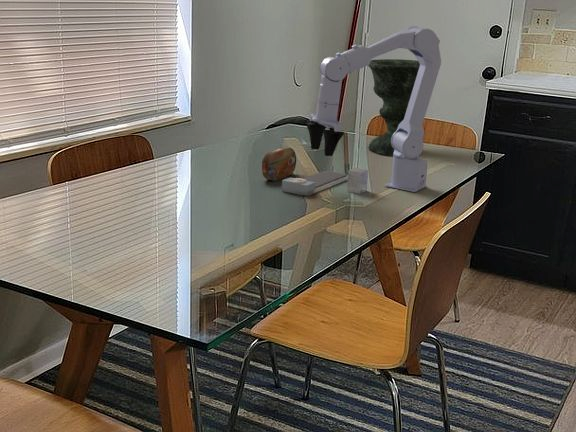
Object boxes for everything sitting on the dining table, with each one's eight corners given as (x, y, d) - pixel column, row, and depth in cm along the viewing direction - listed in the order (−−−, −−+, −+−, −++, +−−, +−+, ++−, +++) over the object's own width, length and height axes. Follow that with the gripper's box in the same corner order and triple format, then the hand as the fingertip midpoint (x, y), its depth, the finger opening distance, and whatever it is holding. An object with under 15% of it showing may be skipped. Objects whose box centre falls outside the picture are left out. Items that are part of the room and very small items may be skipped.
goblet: (350, 151, 255) (355, 61, 246) (381, 140, 273) (387, 57, 263) (408, 161, 243) (416, 68, 234) (437, 150, 261) (445, 63, 252)
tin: (268, 183, 212) (269, 154, 209) (259, 181, 213) (260, 153, 211) (296, 173, 224) (297, 145, 221) (287, 171, 225) (288, 144, 223)
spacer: (366, 191, 207) (368, 170, 206) (359, 194, 204) (361, 172, 202) (354, 188, 210) (355, 167, 208) (347, 191, 206) (348, 170, 205)
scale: (348, 179, 219) (349, 167, 218) (306, 196, 200) (306, 183, 199) (325, 174, 223) (325, 163, 222) (281, 191, 204) (281, 178, 203)
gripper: (302, 97, 204) (296, 146, 208) (328, 107, 192) (321, 158, 196) (324, 98, 208) (318, 146, 212) (352, 108, 196) (344, 158, 199)
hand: (321, 152), depth 204 cm, fingers open, 7 cm apart
